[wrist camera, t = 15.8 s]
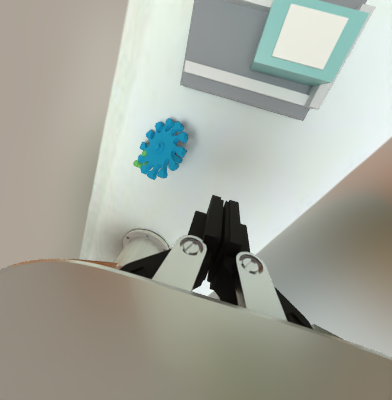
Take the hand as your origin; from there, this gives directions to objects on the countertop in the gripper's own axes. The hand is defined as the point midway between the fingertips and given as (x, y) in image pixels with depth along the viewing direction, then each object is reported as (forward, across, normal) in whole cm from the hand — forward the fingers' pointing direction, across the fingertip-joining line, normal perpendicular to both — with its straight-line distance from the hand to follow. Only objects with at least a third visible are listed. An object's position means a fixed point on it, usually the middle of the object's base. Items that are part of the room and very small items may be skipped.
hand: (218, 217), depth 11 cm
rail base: (+21, 0, -13) cm, 25 cm away
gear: (+22, +10, +2) cm, 24 cm away
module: (+19, -4, -13) cm, 24 cm away
